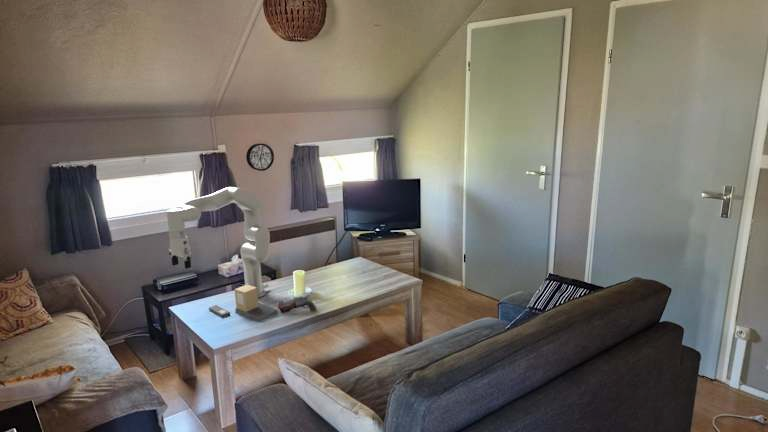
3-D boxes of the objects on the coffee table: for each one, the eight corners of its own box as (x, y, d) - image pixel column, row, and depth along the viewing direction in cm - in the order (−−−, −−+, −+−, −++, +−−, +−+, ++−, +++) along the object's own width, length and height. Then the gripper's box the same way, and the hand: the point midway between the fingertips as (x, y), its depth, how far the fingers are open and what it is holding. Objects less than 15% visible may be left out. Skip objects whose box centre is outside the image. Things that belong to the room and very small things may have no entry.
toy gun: (281, 316, 265) (277, 299, 262) (317, 308, 265) (313, 291, 263) (280, 320, 260) (276, 303, 258) (317, 311, 261) (312, 295, 259)
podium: (253, 304, 271) (253, 300, 271) (277, 313, 260) (277, 309, 259) (235, 312, 262) (235, 308, 262) (260, 322, 251) (259, 317, 250)
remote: (209, 311, 266) (208, 307, 265) (216, 308, 269) (216, 304, 268) (222, 318, 257) (222, 314, 256) (230, 315, 260) (229, 311, 259)
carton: (248, 303, 268) (246, 284, 265) (258, 306, 263) (256, 287, 261) (236, 308, 262) (234, 289, 259) (246, 311, 257) (244, 292, 254)
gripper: (195, 234, 239) (199, 266, 244) (172, 229, 248) (177, 261, 252) (182, 237, 233) (186, 271, 237) (159, 233, 242) (164, 265, 246)
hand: (181, 266), depth 245 cm, fingers open, 9 cm apart
